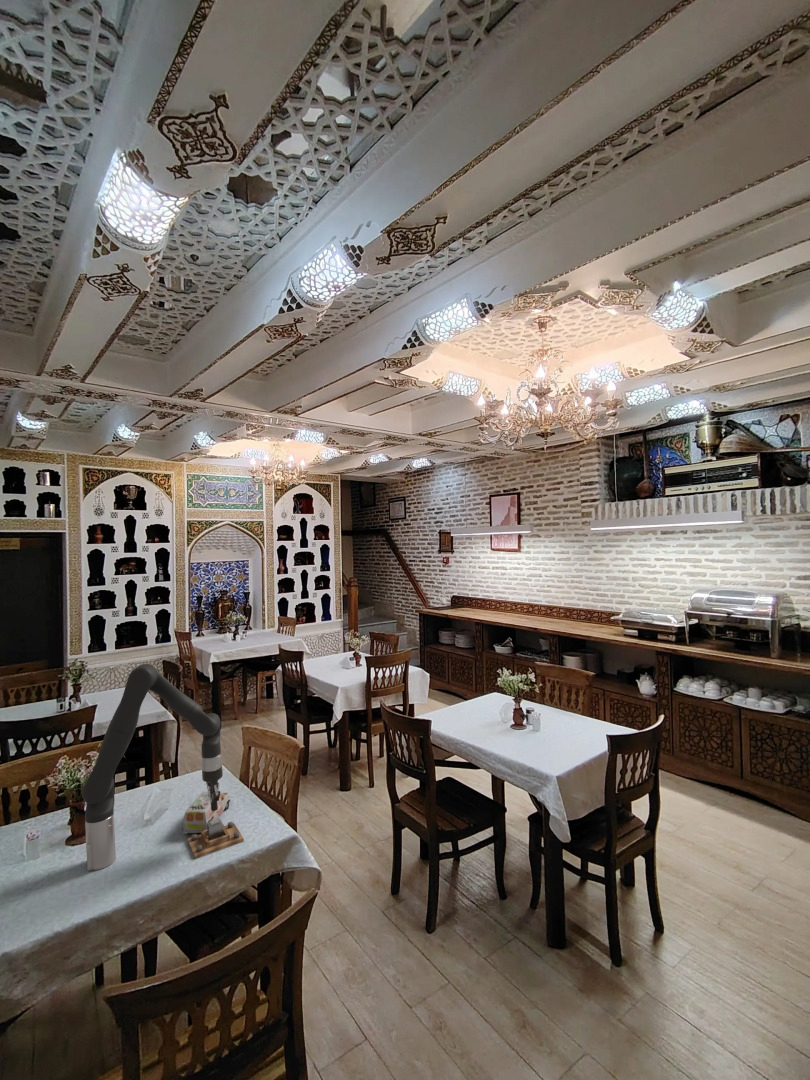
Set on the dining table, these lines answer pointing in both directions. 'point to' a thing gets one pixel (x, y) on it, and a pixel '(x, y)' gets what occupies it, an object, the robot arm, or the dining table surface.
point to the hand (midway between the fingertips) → (214, 810)
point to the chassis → (214, 841)
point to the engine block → (214, 829)
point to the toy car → (203, 812)
